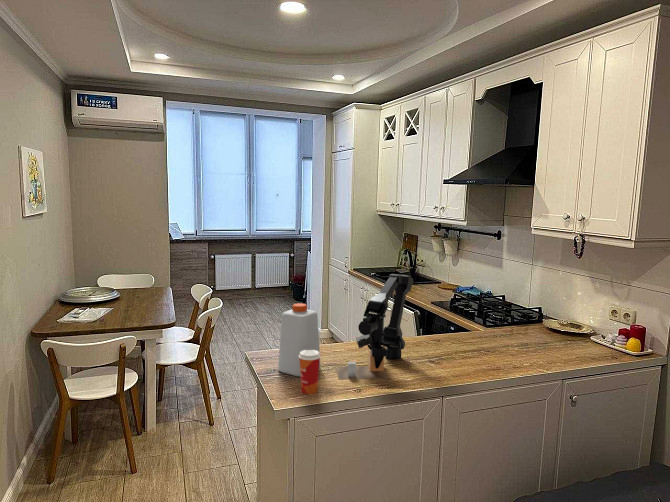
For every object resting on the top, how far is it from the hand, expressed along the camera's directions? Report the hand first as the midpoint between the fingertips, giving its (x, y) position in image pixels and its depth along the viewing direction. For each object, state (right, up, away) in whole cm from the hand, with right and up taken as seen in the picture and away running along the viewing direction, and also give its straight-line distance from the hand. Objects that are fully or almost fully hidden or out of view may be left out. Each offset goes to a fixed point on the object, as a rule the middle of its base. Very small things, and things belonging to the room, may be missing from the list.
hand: (375, 365), depth 195 cm
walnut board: (-6, -3, -4) cm, 8 cm away
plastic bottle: (-32, -2, +1) cm, 32 cm away
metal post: (-10, -2, -8) cm, 14 cm away
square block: (0, -1, 0) cm, 1 cm away
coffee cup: (-27, -5, -20) cm, 34 cm away
